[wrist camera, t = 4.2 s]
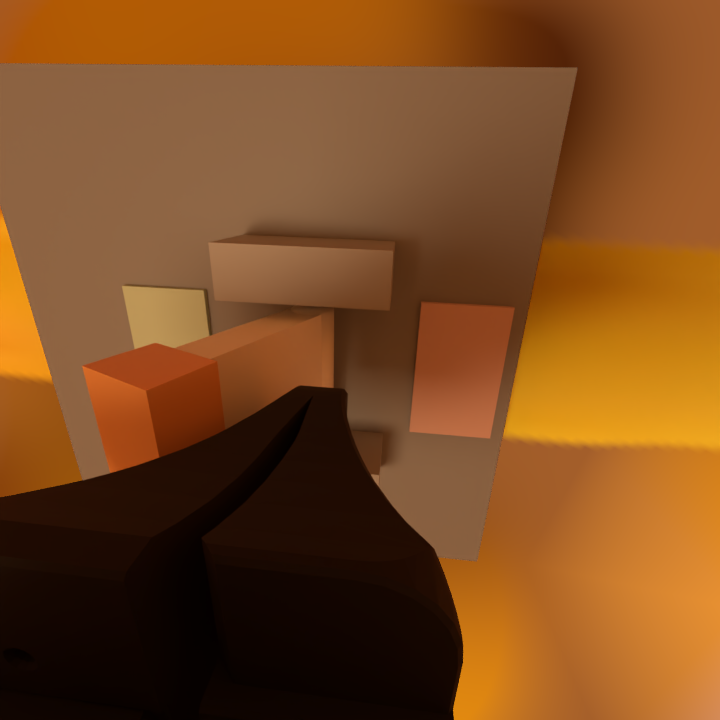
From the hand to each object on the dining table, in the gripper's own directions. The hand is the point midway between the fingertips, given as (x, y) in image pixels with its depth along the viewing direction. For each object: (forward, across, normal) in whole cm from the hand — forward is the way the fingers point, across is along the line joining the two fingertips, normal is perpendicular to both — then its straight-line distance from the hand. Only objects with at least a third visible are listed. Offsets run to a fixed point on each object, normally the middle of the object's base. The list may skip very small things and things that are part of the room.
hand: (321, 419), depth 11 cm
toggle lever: (+3, +1, 0) cm, 3 cm away
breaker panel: (+7, +3, 0) cm, 7 cm away
